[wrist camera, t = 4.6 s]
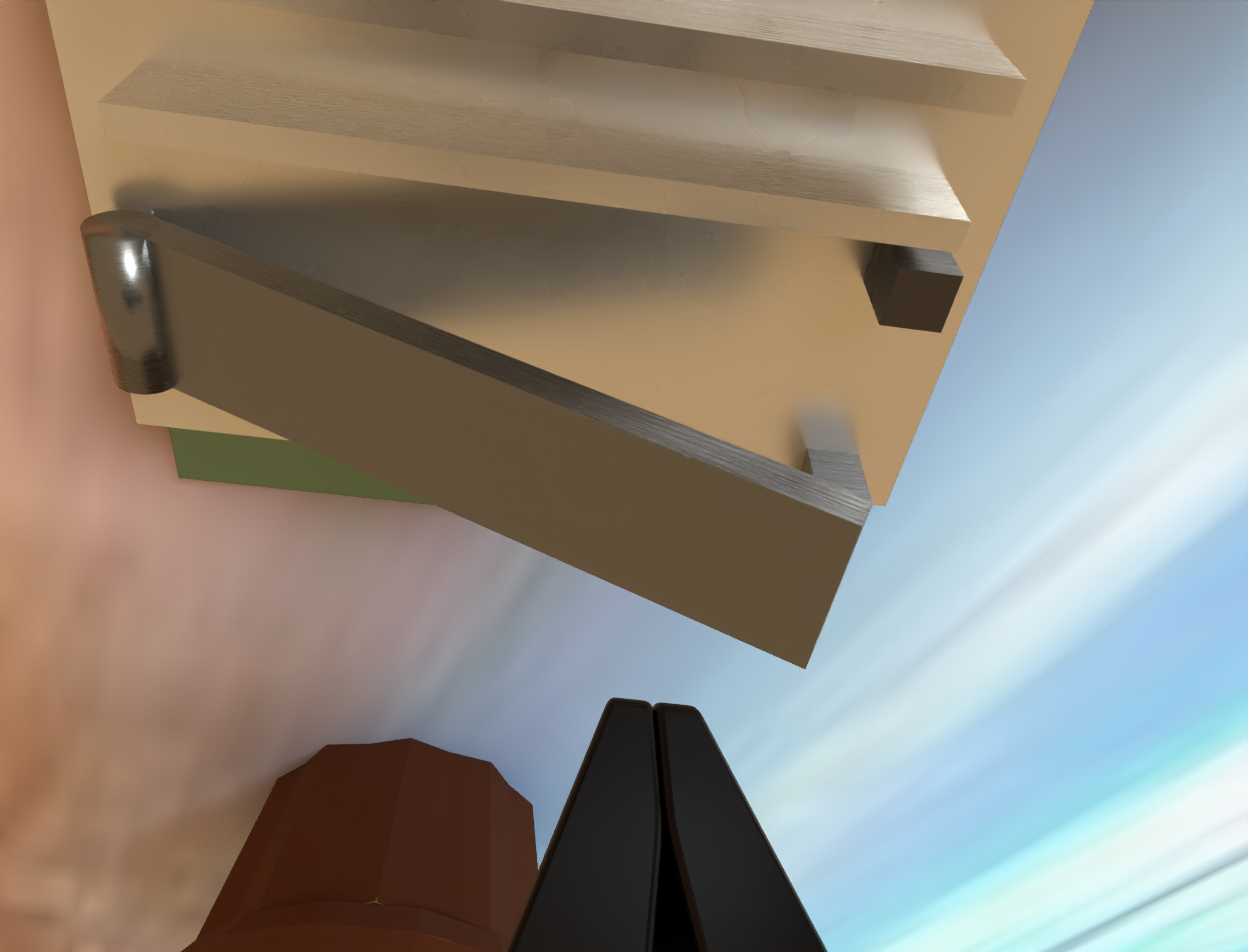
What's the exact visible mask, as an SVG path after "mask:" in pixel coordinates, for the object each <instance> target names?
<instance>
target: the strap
mask: <svg viewBox="0 0 1248 952" xmlns="http://www.w3.org/2000/svg"><path fill="white" fill-rule="evenodd" d="M80 230H81V234H82V239H83V243H84V248H85V252H86V256H87V261H88V265H89V270H90V274H91V279H92V283H93V287H94V292H95V296H96V301H97V305H98V310H99V314H100V318H101V323H102V327H103V332H104V336H105V341H106V345H107V349H108V354H109V358H110V363H111V367H112V371H113V376H114V380H115V383H116V385H117V386H118V387H119V388H120V389H122V390H124V391H126V392H129V393H133V394H140V395H149V394H157V393H161V392H165V391H168V390H170V389H172V388H173V389H176V390H178V391H180V392H182V393H185V394H187V395H189V396H191V397H194V398H196V399H198V400H200V401H203V402H205V403H207V404H209V405H212V406H214V407H216V408H218V409H221V410H223V411H225V412H227V413H230V414H232V415H234V416H236V417H239V418H241V419H243V420H245V421H248V422H250V423H252V424H254V425H257V426H259V427H261V428H263V429H266V430H268V431H270V432H272V433H275V434H277V435H279V436H281V437H284V438H286V439H288V440H290V441H293V442H295V443H297V444H299V445H302V446H304V447H306V448H308V449H311V450H313V451H315V452H317V453H320V454H322V455H324V456H326V457H329V458H331V459H333V460H335V461H338V462H340V463H342V464H344V465H347V466H349V467H351V468H353V469H356V470H358V471H360V472H362V473H365V474H367V475H369V476H371V477H374V478H376V479H378V480H380V481H383V482H385V483H387V484H389V485H392V486H394V487H396V488H398V489H401V490H403V491H405V492H407V493H410V494H412V495H414V496H416V497H419V498H421V499H423V500H425V501H428V502H430V503H432V504H434V505H437V506H439V507H441V508H443V509H446V510H448V511H450V512H452V513H455V514H457V515H459V516H461V517H464V518H466V519H468V520H470V521H473V522H475V523H477V524H479V525H482V526H484V527H486V528H488V529H491V530H493V531H495V532H497V533H500V534H502V535H504V536H506V537H509V538H511V539H513V540H515V541H518V542H520V543H522V544H524V545H527V546H529V547H531V548H533V549H536V550H538V551H540V552H542V553H545V554H547V555H549V556H551V557H554V558H556V559H558V560H560V561H563V562H565V563H567V564H569V565H572V566H574V567H576V568H578V569H581V570H583V571H585V572H587V573H590V574H592V575H594V576H596V577H599V578H601V579H603V580H605V581H608V582H610V583H612V584H614V585H617V586H619V587H621V588H623V589H626V590H628V591H630V592H632V593H635V594H637V595H639V596H641V597H644V598H646V599H648V600H650V601H653V602H655V603H657V604H659V605H662V606H664V607H666V608H668V609H671V610H673V611H675V612H677V613H680V614H682V615H684V616H686V617H689V618H691V619H693V620H695V621H698V622H700V623H702V624H704V625H707V626H709V627H711V628H713V629H716V630H718V631H720V632H722V633H725V634H727V635H729V636H731V637H734V638H736V639H738V640H740V641H743V642H745V643H747V644H749V645H752V646H754V647H756V648H758V649H761V650H763V651H765V652H767V653H770V654H772V655H774V656H776V657H779V658H781V659H783V660H785V661H788V662H790V663H792V664H794V665H797V666H799V667H801V668H803V669H806V666H807V664H808V662H809V659H810V657H811V655H812V652H813V650H814V648H815V645H816V643H817V641H818V638H819V636H820V633H821V631H822V628H823V626H824V623H825V621H826V618H827V616H828V613H829V611H830V608H831V606H832V603H833V601H834V598H835V596H836V593H837V591H838V588H839V586H840V583H841V581H842V579H843V576H844V574H845V571H846V569H847V566H848V564H849V561H850V559H851V556H852V554H853V551H854V549H855V546H856V544H857V541H858V539H859V536H860V534H861V531H862V529H863V526H864V524H865V521H866V519H867V516H868V514H869V512H870V509H871V507H872V504H873V502H874V499H871V498H869V497H866V496H863V495H861V494H858V493H856V492H853V491H851V490H848V489H846V488H843V487H841V486H838V485H835V484H833V483H830V482H828V481H825V480H823V479H820V478H818V477H815V476H813V475H810V474H807V473H805V472H802V471H800V470H797V469H795V468H792V467H790V466H787V465H785V464H782V463H780V462H777V461H774V460H772V459H769V458H767V457H764V456H762V455H759V454H757V453H754V452H752V451H749V450H746V449H744V448H741V447H739V446H736V445H734V444H731V443H729V442H726V441H724V440H721V439H718V438H716V437H713V436H711V435H708V434H706V433H703V432H701V431H698V430H696V429H693V428H691V427H688V426H685V425H683V424H680V423H678V422H675V421H673V420H670V419H668V418H665V417H663V416H660V415H657V414H655V413H652V412H650V411H647V410H645V409H642V408H640V407H637V406H635V405H632V404H629V403H627V402H624V401H622V400H619V399H617V398H614V397H612V396H609V395H607V394H604V393H602V392H599V391H596V390H594V389H591V388H589V387H586V386H584V385H581V384H579V383H576V382H574V381H571V380H568V379H566V378H563V377H561V376H558V375H556V374H553V373H551V372H548V371H546V370H543V369H540V368H538V367H535V366H533V365H530V364H528V363H525V362H523V361H520V360H518V359H515V358H513V357H510V356H507V355H505V354H502V353H500V352H497V351H495V350H492V349H490V348H487V347H485V346H482V345H479V344H477V343H474V342H472V341H469V340H467V339H464V338H462V337H459V336H457V335H454V334H451V333H449V332H446V331H444V330H441V329H439V328H436V327H434V326H431V325H429V324H426V323H424V322H421V321H418V320H416V319H413V318H411V317H408V316H406V315H403V314H401V313H398V312H396V311H393V310H390V309H388V308H385V307H383V306H380V305H378V304H375V303H373V302H370V301H368V300H365V299H362V298H360V297H357V296H355V295H352V294H350V293H347V292H345V291H342V290H340V289H337V288H335V287H332V286H329V285H327V284H324V283H322V282H319V281H317V280H314V279H312V278H309V277H307V276H304V275H301V274H299V273H296V272H294V271H291V270H289V269H286V268H284V267H281V266H279V265H276V264H273V263H271V262H268V261H266V260H263V259H261V258H258V257H256V256H253V255H251V254H248V253H246V252H243V251H240V250H238V249H235V248H233V247H230V246H228V245H225V244H223V243H220V242H218V241H215V240H212V239H210V238H207V237H205V236H202V235H200V234H197V233H195V232H192V231H190V230H187V229H184V228H182V227H179V226H177V225H174V224H172V223H169V222H167V221H164V220H162V219H159V218H157V217H154V216H151V215H149V214H146V213H143V212H139V211H132V210H113V211H106V212H102V213H98V214H95V215H93V216H91V217H89V218H87V219H86V220H84V221H83V223H82V224H81V227H80Z"/></svg>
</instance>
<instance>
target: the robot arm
mask: <svg viewBox="0 0 1248 952" xmlns="http://www.w3.org/2000/svg"><path fill="white" fill-rule="evenodd" d="M505 952H827V950H826V948H825V946H824V944H823V942H822V940H821V938H820V936H819V935H818V933H817V931H816V929H815V927H814V925H813V923H812V921H811V920H810V918H809V916H808V914H807V912H806V910H805V908H804V906H803V904H802V903H801V901H800V899H799V897H798V895H797V893H796V891H795V889H794V888H793V886H792V884H791V882H790V880H789V878H788V876H787V874H786V872H785V871H784V869H783V867H782V865H781V863H780V861H779V859H778V857H777V856H776V854H775V852H774V850H773V848H772V846H771V844H770V842H769V840H768V839H767V837H766V835H765V833H764V831H763V829H762V827H761V825H760V824H759V822H758V820H757V818H756V816H755V814H754V812H753V810H752V808H751V807H750V805H749V803H748V801H747V799H746V797H745V795H744V793H743V791H742V790H741V788H740V786H739V784H738V782H737V780H736V778H735V776H734V775H733V773H732V771H731V769H730V767H729V765H728V763H727V761H726V759H725V758H724V756H723V754H722V752H721V750H720V748H719V746H718V744H717V743H716V741H715V739H714V737H713V735H712V733H711V731H710V729H709V727H708V726H707V724H706V722H705V720H704V718H703V716H702V715H701V713H700V712H699V711H698V710H697V709H696V708H695V707H693V706H689V705H680V704H670V703H657V704H655V705H654V706H653V707H652V706H651V704H650V703H648V702H646V701H643V700H633V699H624V698H611V699H610V700H609V701H608V702H607V704H606V706H605V708H604V711H603V713H602V716H601V718H600V721H599V723H598V726H597V728H596V730H595V733H594V735H593V738H592V740H591V743H590V745H589V748H588V750H587V752H586V755H585V757H584V760H583V762H582V765H581V767H580V770H579V772H578V775H577V777H576V779H575V782H574V784H573V787H572V789H571V792H570V794H569V797H568V799H567V801H566V804H565V806H564V809H563V811H562V814H561V816H560V819H559V821H558V824H557V826H556V828H555V831H554V833H553V836H552V838H551V841H550V843H549V846H548V848H547V850H546V853H545V855H544V858H543V860H542V863H541V865H540V868H539V870H538V873H537V875H536V877H535V880H534V882H533V885H532V887H531V890H530V892H529V895H528V897H527V899H526V902H525V904H524V907H523V909H522V912H521V914H520V917H519V919H518V921H517V924H516V926H515V929H514V931H513V934H512V936H511V939H510V941H509V944H508V946H507V948H506V951H505Z"/></svg>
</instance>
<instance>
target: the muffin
mask: <svg viewBox="0 0 1248 952" xmlns="http://www.w3.org/2000/svg"><path fill="white" fill-rule="evenodd" d="M537 873H538V865H537V853H536V842H535V830H534V818H533V806H532V804H531V803H530V802H528V801H527V800H526V799H525V798H524V797H523V796H521V795H520V794H519V793H518V792H517V791H515V790H514V789H513V788H512V787H511V786H509V785H508V783H507V782H506V781H505V779H504V778H503V777H502V776H501V774H500V773H499V772H498V770H497V769H496V768H495V767H494V765H493V764H492V763H491V762H488V761H484V760H480V759H475V758H471V757H467V756H463V755H459V754H455V753H450V752H448V751H445V750H442V749H439V748H437V747H434V746H431V745H429V744H426V743H423V742H420V741H418V740H415V739H412V738H408V739H401V740H394V741H387V742H379V743H372V744H339V745H326V746H325V747H324V748H323V749H322V750H320V751H319V752H318V753H317V754H316V755H315V756H314V757H312V758H311V759H310V760H309V761H308V762H307V763H306V764H304V765H302V766H300V767H298V768H297V769H295V770H293V771H291V772H289V773H287V774H286V775H284V776H282V777H280V778H278V779H277V781H276V783H275V785H274V787H273V789H272V791H271V793H270V795H269V797H268V799H267V801H266V803H265V805H264V807H263V809H262V811H261V813H260V815H259V817H258V819H257V821H256V823H255V825H254V827H253V829H252V831H251V833H250V835H249V837H248V839H247V841H246V842H245V844H244V846H243V848H242V850H241V852H240V854H239V856H238V858H237V860H236V862H235V864H234V866H233V868H232V870H231V872H230V874H229V876H228V878H227V880H226V882H225V884H224V886H223V888H222V890H221V892H220V894H219V896H218V898H217V900H216V902H215V904H214V905H213V907H212V909H211V911H210V913H209V915H208V917H207V919H206V921H205V923H204V925H203V927H202V929H201V931H200V933H199V935H198V937H197V939H196V940H195V941H194V942H193V943H192V944H190V945H189V946H188V947H186V948H185V949H184V950H183V951H181V952H505V951H506V948H507V946H508V944H509V941H510V939H511V936H512V934H513V931H514V929H515V926H516V924H517V921H518V919H519V917H520V914H521V912H522V909H523V907H524V904H525V902H526V899H527V897H528V895H529V892H530V890H531V887H532V885H533V882H534V880H535V877H536V875H537Z"/></svg>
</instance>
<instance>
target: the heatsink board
mask: <svg viewBox="0 0 1248 952" xmlns="http://www.w3.org/2000/svg"><path fill="white" fill-rule="evenodd" d="M45 1H46V6H47V10H48V15H49V20H50V24H51V29H52V34H53V38H54V43H55V47H56V52H57V57H58V61H59V66H60V71H61V75H62V80H63V84H64V89H65V94H66V98H67V103H68V108H69V112H70V117H71V122H72V126H73V131H74V135H75V140H76V145H77V149H78V154H79V159H80V163H81V168H82V172H83V177H84V182H85V186H86V191H87V196H88V200H89V205H90V209H91V214H92V216H93V215H95V214H98V213H102V212H106V211H113V210H132V211H139V212H143V213H146V214H149V215H151V216H154V217H157V218H159V219H162V220H164V221H167V222H169V223H172V224H174V225H177V226H179V227H182V228H184V229H187V230H190V231H192V232H195V233H197V234H200V235H202V236H205V237H207V238H210V239H212V240H215V241H218V242H220V243H223V244H225V245H228V246H230V247H233V248H235V249H238V250H240V251H243V252H246V253H248V254H251V255H253V256H256V257H258V258H261V259H263V260H266V261H268V262H271V263H273V264H276V265H279V266H281V267H284V268H286V269H289V270H291V271H294V272H296V273H299V274H301V275H304V276H307V277H309V278H312V279H314V280H317V281H319V282H322V283H324V284H327V285H329V286H332V287H335V288H337V289H340V290H342V291H345V292H347V293H350V294H352V295H355V296H357V297H360V298H362V299H365V300H368V301H370V302H373V303H375V304H378V305H380V306H383V307H385V308H388V309H390V310H393V311H396V312H398V313H401V314H403V315H406V316H408V317H411V318H413V319H416V320H418V321H421V322H424V323H426V324H429V325H431V326H434V327H436V328H439V329H441V330H444V331H446V332H449V333H451V334H454V335H457V336H459V337H462V338H464V339H467V340H469V341H472V342H474V343H477V344H479V345H482V346H485V347H487V348H490V349H492V350H495V351H497V352H500V353H502V354H505V355H507V356H510V357H513V358H515V359H518V360H520V361H523V362H525V363H528V364H530V365H533V366H535V367H538V368H540V369H543V370H546V371H548V372H551V373H553V374H556V375H558V376H561V377H563V378H566V379H568V380H571V381H574V382H576V383H579V384H581V385H584V386H586V387H589V388H591V389H594V390H596V391H599V392H602V393H604V394H607V395H609V396H612V397H614V398H617V399H619V400H622V401H624V402H627V403H629V404H632V405H635V406H637V407H640V408H642V409H645V410H647V411H650V412H652V413H655V414H657V415H660V416H663V417H665V418H668V419H670V420H673V421H675V422H678V423H680V424H683V425H685V426H688V427H691V428H693V429H696V430H698V431H701V432H703V433H706V434H708V435H711V436H713V437H716V438H718V439H721V440H724V441H726V442H729V443H731V444H734V445H736V446H739V447H741V448H744V449H746V450H749V451H752V452H754V453H757V454H759V455H762V456H764V457H767V458H769V459H772V460H774V461H777V462H780V463H782V464H785V465H787V466H790V467H792V468H795V469H797V470H800V471H802V472H805V473H807V474H810V475H813V476H815V477H818V478H820V479H823V480H825V481H828V482H830V483H833V484H835V485H838V486H841V487H843V488H846V489H848V490H851V491H853V492H856V493H858V494H861V495H863V496H866V497H869V498H871V499H874V502H873V504H872V505H881V506H885V505H886V503H887V500H888V498H889V496H890V493H891V491H892V488H893V486H894V483H895V481H896V479H897V476H898V474H899V471H900V469H901V467H902V464H903V462H904V459H905V457H906V455H907V452H908V450H909V447H910V445H911V442H912V440H913V438H914V435H915V433H916V430H917V428H918V426H919V423H920V421H921V418H922V416H923V414H924V411H925V409H926V406H927V404H928V401H929V399H930V397H931V394H932V392H933V389H934V387H935V385H936V382H937V380H938V377H939V375H940V373H941V370H942V368H943V365H944V363H945V360H946V358H947V356H948V353H949V351H950V348H951V346H952V344H953V341H954V339H955V336H956V334H957V332H958V329H959V327H960V324H961V322H962V319H963V317H964V315H965V312H966V310H967V307H968V305H969V303H970V300H971V298H972V295H973V293H974V291H975V288H976V286H977V283H978V281H979V278H980V276H981V274H982V271H983V269H984V266H985V264H986V262H987V259H988V257H989V254H990V252H991V250H992V247H993V245H994V242H995V240H996V237H997V235H998V233H999V230H1000V228H1001V225H1002V223H1003V221H1004V218H1005V216H1006V213H1007V211H1008V209H1009V206H1010V204H1011V201H1012V199H1013V196H1014V194H1015V192H1016V189H1017V187H1018V184H1019V182H1020V180H1021V177H1022V175H1023V172H1024V170H1025V168H1026V165H1027V163H1028V160H1029V158H1030V155H1031V153H1032V151H1033V148H1034V146H1035V143H1036V141H1037V139H1038V136H1039V134H1040V131H1041V129H1042V126H1043V124H1044V122H1045V119H1046V117H1047V114H1048V112H1049V110H1050V107H1051V105H1052V102H1053V100H1054V98H1055V95H1056V93H1057V90H1058V88H1059V85H1060V83H1061V81H1062V78H1063V76H1064V73H1065V71H1066V69H1067V66H1068V64H1069V61H1070V59H1071V57H1072V54H1073V52H1074V49H1075V47H1076V44H1077V42H1078V40H1079V37H1080V35H1081V32H1082V30H1083V28H1084V25H1085V23H1086V20H1087V18H1088V16H1089V13H1090V11H1091V8H1092V6H1093V3H1094V1H1095V0H45ZM130 395H131V399H132V404H133V409H134V413H135V418H136V422H137V424H144V425H154V426H163V427H169V428H170V433H171V439H172V444H173V449H174V454H175V460H176V465H177V470H178V475H179V478H186V479H196V480H205V481H215V482H224V483H234V484H243V485H253V486H262V487H271V488H281V489H290V490H300V491H309V492H319V493H328V494H338V495H347V496H357V497H366V498H375V499H385V500H394V501H404V502H413V503H423V504H432V503H430V502H428V501H425V500H423V499H421V498H419V497H416V496H414V495H412V494H410V493H407V492H405V491H403V490H401V489H398V488H396V487H394V486H392V485H389V484H387V483H385V482H383V481H380V480H378V479H376V478H374V477H371V476H369V475H367V474H365V473H362V472H360V471H358V470H356V469H353V468H351V467H349V466H347V465H344V464H342V463H340V462H338V461H335V460H333V459H331V458H329V457H326V456H324V455H322V454H320V453H317V452H315V451H313V450H311V449H308V448H306V447H304V446H302V445H299V444H297V443H295V442H293V441H290V440H288V439H286V438H284V437H281V436H279V435H277V434H275V433H272V432H270V431H268V430H266V429H263V428H261V427H259V426H257V425H254V424H252V423H250V422H248V421H245V420H243V419H241V418H239V417H236V416H234V415H232V414H230V413H227V412H225V411H223V410H221V409H218V408H216V407H214V406H212V405H209V404H207V403H205V402H203V401H200V400H198V399H196V398H194V397H191V396H189V395H187V394H185V393H182V392H180V391H178V390H176V389H173V388H172V389H170V390H168V391H165V392H161V393H157V394H149V395H140V394H133V393H130ZM432 505H434V504H432Z"/></svg>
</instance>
